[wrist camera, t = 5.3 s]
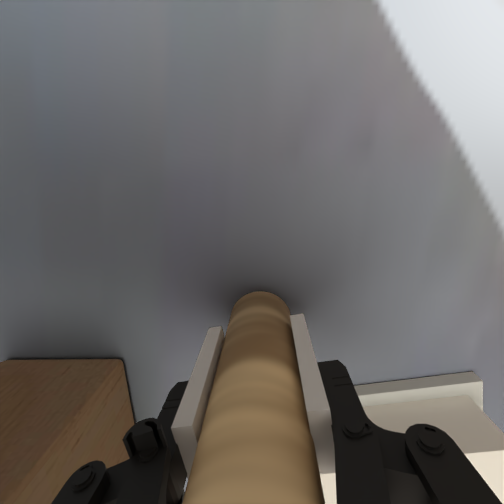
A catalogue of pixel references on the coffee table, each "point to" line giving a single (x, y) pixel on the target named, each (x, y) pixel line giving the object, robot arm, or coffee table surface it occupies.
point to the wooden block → (59, 423)
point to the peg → (256, 416)
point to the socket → (436, 420)
